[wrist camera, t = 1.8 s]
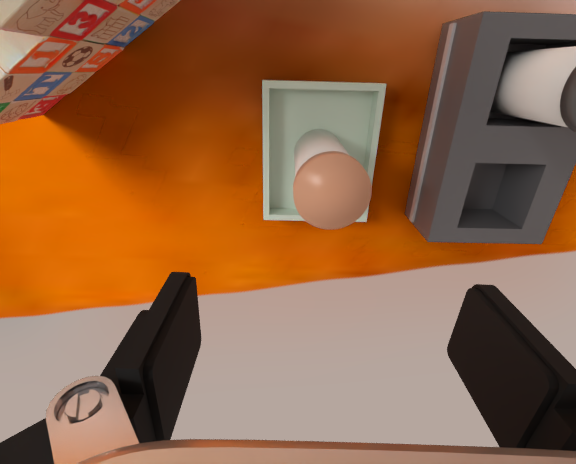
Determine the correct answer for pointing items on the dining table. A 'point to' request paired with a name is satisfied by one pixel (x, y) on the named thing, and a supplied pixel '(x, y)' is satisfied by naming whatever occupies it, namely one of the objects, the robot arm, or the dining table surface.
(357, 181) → the plug
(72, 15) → the stack of blocks
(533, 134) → the socket strip
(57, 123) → the dining table surface
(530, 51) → the grey capped white peg
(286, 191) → the tray
